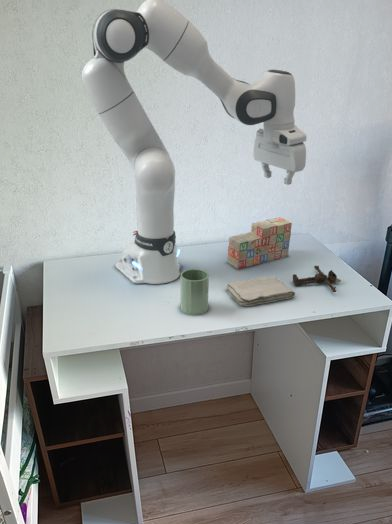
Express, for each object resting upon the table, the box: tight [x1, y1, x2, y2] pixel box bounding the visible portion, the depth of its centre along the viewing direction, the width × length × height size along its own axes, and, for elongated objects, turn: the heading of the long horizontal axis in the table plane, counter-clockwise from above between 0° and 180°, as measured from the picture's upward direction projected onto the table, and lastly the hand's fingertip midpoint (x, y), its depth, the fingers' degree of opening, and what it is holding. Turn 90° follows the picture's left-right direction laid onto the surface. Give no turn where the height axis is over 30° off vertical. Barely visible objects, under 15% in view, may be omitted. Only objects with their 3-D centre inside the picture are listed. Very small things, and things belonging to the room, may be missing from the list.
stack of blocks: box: [227, 217, 293, 270], centre depth 170 cm, size 21×6×12 cm, turn 122°
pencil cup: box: [179, 268, 210, 316], centre depth 142 cm, size 8×8×10 cm
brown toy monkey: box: [292, 265, 342, 294], centre depth 158 cm, size 18×4×14 cm
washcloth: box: [226, 276, 296, 307], centre depth 151 cm, size 12×18×3 cm, turn 111°
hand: (277, 180), depth 155 cm, fingers open, 8 cm apart
